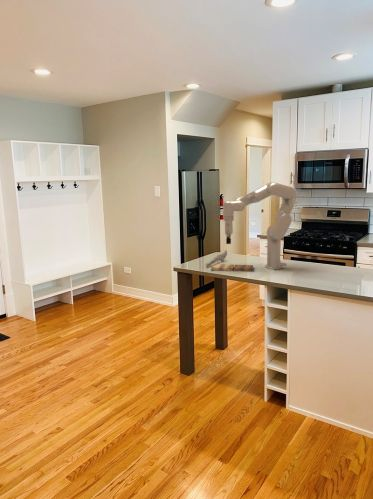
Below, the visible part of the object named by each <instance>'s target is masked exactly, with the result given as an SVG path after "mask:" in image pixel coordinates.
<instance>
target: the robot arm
mask: <svg viewBox="0 0 373 499" xmlns="http://www.w3.org/2000/svg"><path fill="white" fill-rule="evenodd" d="M296 194H297V191H296V189H295V187H293V186H289V185H285V184H282V183H278V182H269V183H266V184H265V185H263V186H260V187H258V188H257V189H255V190H253V191H251V192H249V193H247V194H244V195H243V196H240V197H239V198H237V199H235V200H234V201H231V200H225V201H223V203H222V221H223V222H224V234H225V236H226V240H225V244H226V245H231V244H232V239H231V238H232V237H231V236H232V235H233V232H234V231H233V229H234V228H233V221H234V220H235V217H234V216H235V212H242V211H244V210H245V208H246V207H247V206H249V205H252V204H255V203H260V202H261V201H263V200H265V199H267V198H269V197H271V196H277V197H279V198H281V200H282V201H281V204H280V207H279V209H278V210H277V212H276V214H275V217H274V221H275V222H274V223H275V224H271V225H269V226H268V227H267V230H266V241H267V242H266V244H267V246H266V252H267V254H266V264H265V265H264V268H265V269H267V270H280V269H283V267H287V264H288V263H287V262H281V250H282V248H281V247H282V246H281V243H282V241H281V240H282V239H283V238H284V237H285V236H286V234H287V232H288V230H289V228H290V226H291V224H292V220H293V219H292V215H291V214H292V211H293V209H294V207H295V196H297V195H296Z"/></svg>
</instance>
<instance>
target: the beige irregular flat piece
mask: <svg viewBox="0 0 373 499" xmlns="http://www.w3.org/2000/svg"><path fill="white" fill-rule="evenodd" d="M234 267H235V264H225V263H222V264H221V263H220V264H219V263H214V264H212V265H211V269H212V270H225V271H224V272H234V271H233V268H234Z"/></svg>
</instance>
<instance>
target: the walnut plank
mask: <svg viewBox="0 0 373 499" xmlns="http://www.w3.org/2000/svg"><path fill="white" fill-rule="evenodd" d="M253 267H254V264H234V271H233V272H241V271H253Z"/></svg>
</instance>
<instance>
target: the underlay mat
mask: <svg viewBox="0 0 373 499" xmlns="http://www.w3.org/2000/svg"><path fill="white" fill-rule="evenodd" d="M255 269H256V268H255V267H254V266H253V271H240V272H246V273H247V272H248V273H249V272H250V273H255ZM210 271H211V272H214V271H215V272H226V271H225V270H212V268H211V269H210ZM232 272H235V271H234V268H233V271H232Z"/></svg>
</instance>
